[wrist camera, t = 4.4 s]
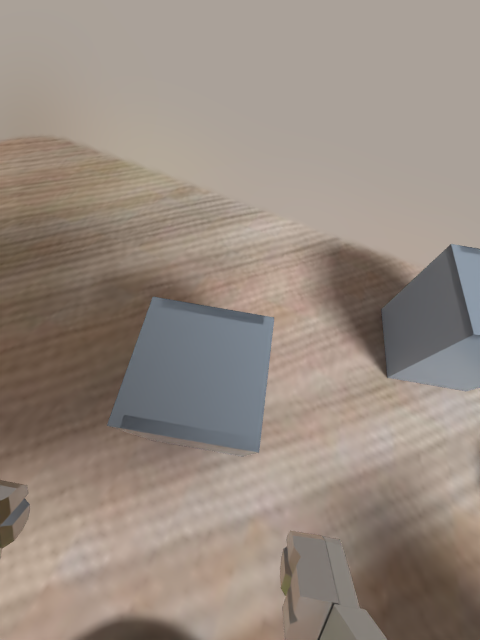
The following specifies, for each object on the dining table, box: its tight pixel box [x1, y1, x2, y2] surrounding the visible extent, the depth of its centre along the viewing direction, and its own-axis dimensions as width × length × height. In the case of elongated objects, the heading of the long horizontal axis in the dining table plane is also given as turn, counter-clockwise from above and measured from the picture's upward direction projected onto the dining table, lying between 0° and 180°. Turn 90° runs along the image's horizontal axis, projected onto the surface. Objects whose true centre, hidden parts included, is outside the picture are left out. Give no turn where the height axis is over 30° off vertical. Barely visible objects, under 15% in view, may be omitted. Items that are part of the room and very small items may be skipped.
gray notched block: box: [381, 244, 480, 391], centre depth 19 cm, size 6×6×8 cm
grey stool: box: [107, 297, 274, 456], centre depth 16 cm, size 6×6×8 cm
